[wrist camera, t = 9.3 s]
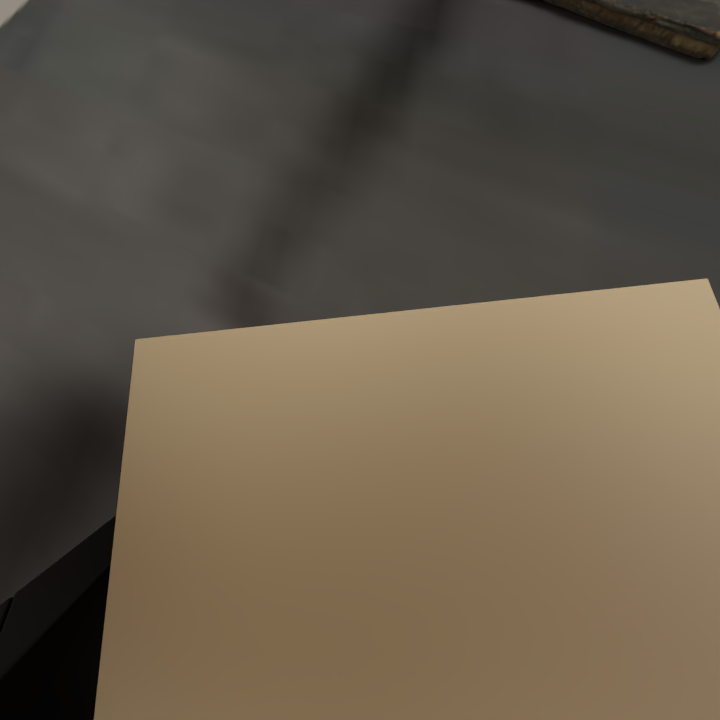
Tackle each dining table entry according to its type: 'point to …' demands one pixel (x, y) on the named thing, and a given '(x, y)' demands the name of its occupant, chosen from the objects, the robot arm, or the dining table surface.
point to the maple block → (424, 516)
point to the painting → (658, 21)
